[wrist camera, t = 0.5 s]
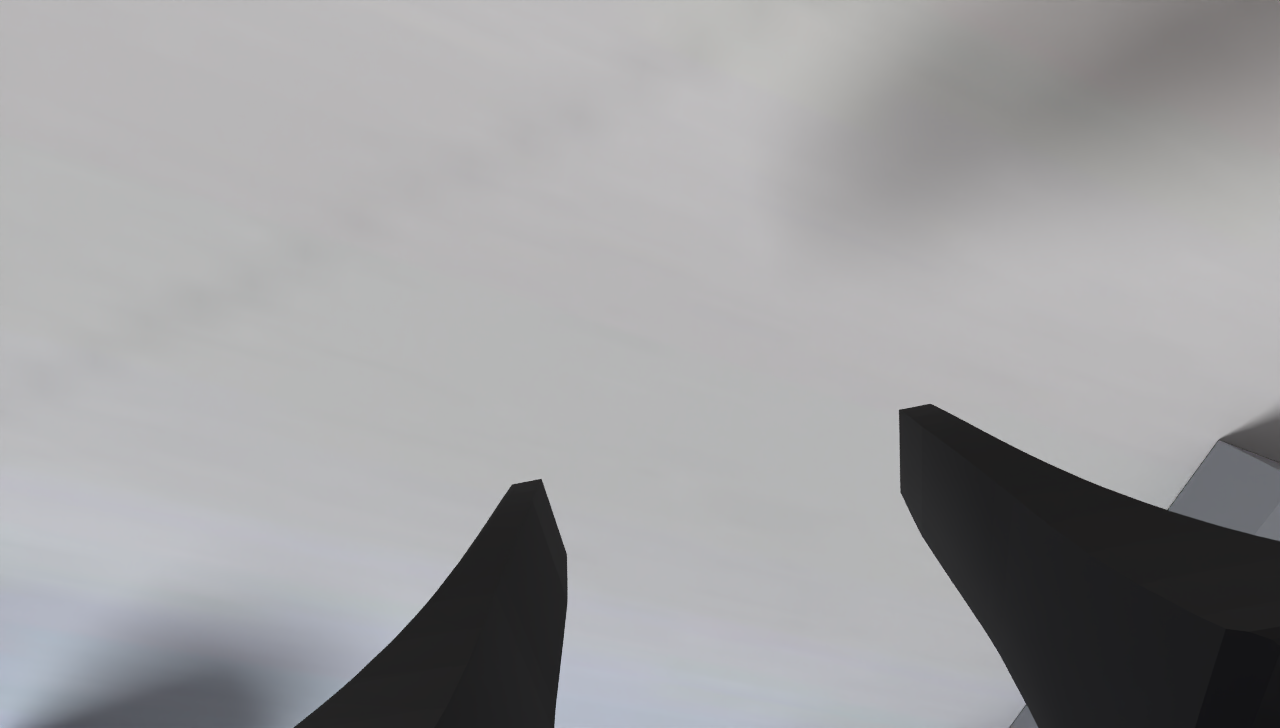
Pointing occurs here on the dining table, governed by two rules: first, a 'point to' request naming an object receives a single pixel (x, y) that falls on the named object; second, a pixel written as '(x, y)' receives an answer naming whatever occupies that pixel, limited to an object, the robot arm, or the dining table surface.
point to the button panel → (1225, 502)
